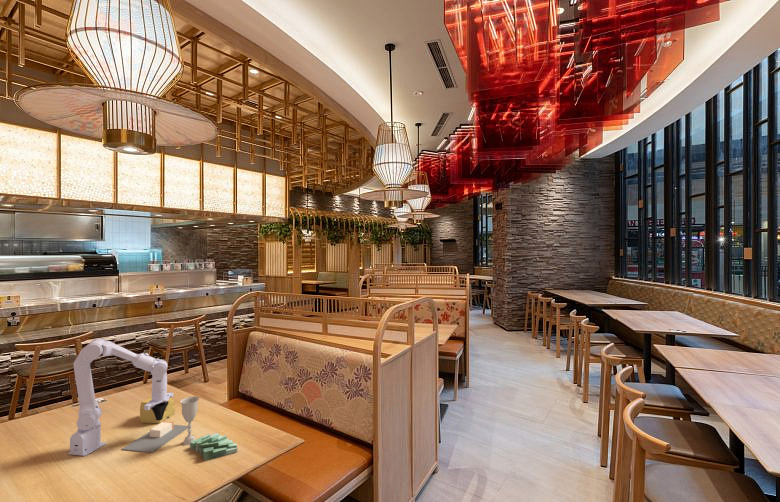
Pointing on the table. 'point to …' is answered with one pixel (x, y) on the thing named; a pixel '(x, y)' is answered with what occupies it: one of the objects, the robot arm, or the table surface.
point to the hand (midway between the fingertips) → (159, 419)
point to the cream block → (161, 429)
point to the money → (213, 446)
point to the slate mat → (154, 440)
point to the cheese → (149, 416)
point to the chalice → (189, 415)
